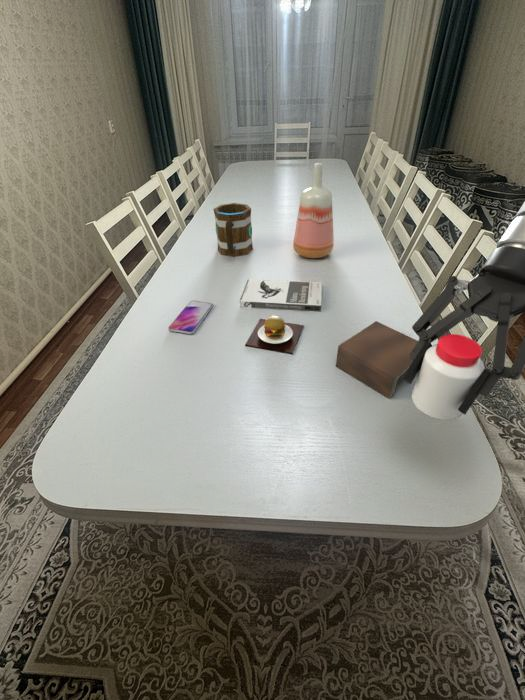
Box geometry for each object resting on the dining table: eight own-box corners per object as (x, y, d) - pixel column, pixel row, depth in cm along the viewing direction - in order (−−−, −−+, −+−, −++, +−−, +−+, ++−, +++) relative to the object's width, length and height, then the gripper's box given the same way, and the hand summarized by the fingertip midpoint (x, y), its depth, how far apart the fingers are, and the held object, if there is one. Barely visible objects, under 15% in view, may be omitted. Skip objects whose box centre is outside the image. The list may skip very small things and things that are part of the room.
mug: (220, 242, 141) (216, 203, 132) (254, 242, 141) (252, 202, 131) (212, 264, 126) (207, 221, 117) (250, 264, 125) (248, 220, 116)
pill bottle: (449, 429, 52) (475, 372, 45) (401, 400, 56) (419, 344, 49) (473, 402, 56) (501, 346, 49) (427, 377, 60) (446, 323, 53)
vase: (287, 248, 135) (289, 161, 117) (322, 243, 138) (329, 157, 120) (302, 264, 124) (306, 170, 106) (339, 258, 127) (350, 166, 109)
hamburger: (303, 326, 94) (304, 308, 91) (292, 354, 85) (293, 335, 82) (260, 320, 97) (259, 302, 94) (245, 346, 89) (244, 327, 85)
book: (321, 287, 111) (322, 282, 109) (320, 311, 100) (321, 305, 99) (248, 284, 114) (248, 278, 112) (240, 307, 103) (239, 301, 102)
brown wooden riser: (424, 368, 80) (431, 347, 77) (389, 399, 73) (395, 377, 70) (371, 340, 89) (376, 320, 85) (335, 366, 82) (338, 345, 78)
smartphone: (213, 303, 103) (192, 332, 92) (214, 305, 104) (192, 335, 93) (190, 299, 105) (166, 328, 94) (191, 302, 105) (167, 331, 94)
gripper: (607, 294, 47) (508, 440, 49) (453, 249, 59) (379, 367, 61) (622, 270, 41) (508, 436, 43) (447, 226, 53) (365, 357, 55)
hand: (432, 395), depth 52 cm, fingers closed on pill bottle, 8 cm apart
